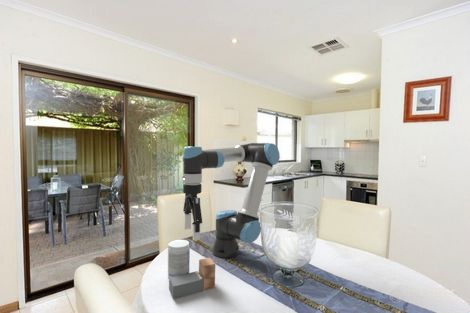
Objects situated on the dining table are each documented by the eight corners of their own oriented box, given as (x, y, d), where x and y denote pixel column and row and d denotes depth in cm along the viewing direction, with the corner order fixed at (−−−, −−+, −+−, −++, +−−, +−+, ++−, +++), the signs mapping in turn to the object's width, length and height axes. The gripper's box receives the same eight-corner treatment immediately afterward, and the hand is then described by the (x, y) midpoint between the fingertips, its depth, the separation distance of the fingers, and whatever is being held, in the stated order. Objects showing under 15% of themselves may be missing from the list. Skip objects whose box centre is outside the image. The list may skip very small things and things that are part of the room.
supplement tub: (192, 277, 106) (193, 244, 105) (171, 283, 100) (172, 249, 100) (184, 268, 114) (185, 237, 113) (164, 273, 108) (165, 241, 108)
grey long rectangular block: (197, 282, 102) (197, 270, 101) (202, 291, 95) (203, 278, 95) (169, 289, 96) (169, 276, 96) (172, 299, 90) (173, 285, 90)
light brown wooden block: (209, 280, 104) (210, 257, 103) (214, 287, 98) (215, 263, 98) (198, 282, 101) (199, 259, 101) (203, 290, 96) (204, 266, 96)
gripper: (177, 180, 108) (176, 225, 109) (191, 189, 85) (190, 246, 86) (193, 179, 111) (192, 223, 112) (211, 187, 89) (210, 243, 89)
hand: (191, 234), depth 99 cm, fingers open, 13 cm apart
